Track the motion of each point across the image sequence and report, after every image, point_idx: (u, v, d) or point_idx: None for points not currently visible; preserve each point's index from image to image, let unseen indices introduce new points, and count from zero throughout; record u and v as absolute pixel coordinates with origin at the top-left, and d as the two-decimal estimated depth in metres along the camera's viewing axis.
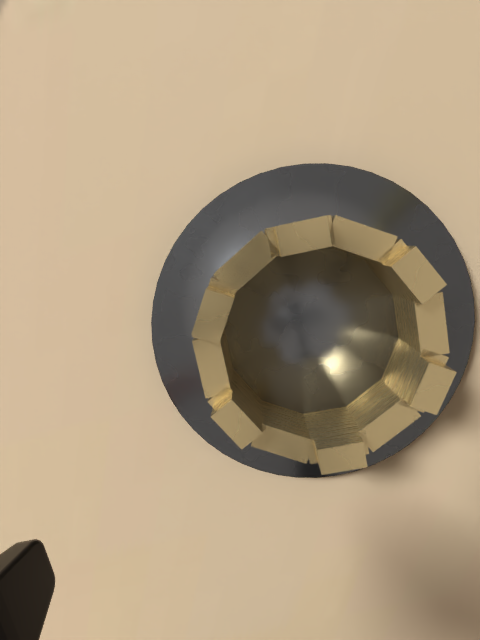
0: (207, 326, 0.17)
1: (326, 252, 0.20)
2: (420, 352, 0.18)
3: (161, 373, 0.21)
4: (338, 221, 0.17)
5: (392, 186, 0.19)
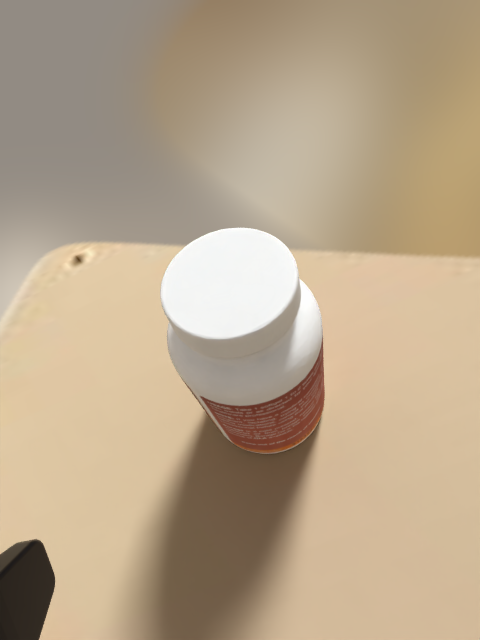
0: None
1: None
2: None
3: None
4: None
5: None
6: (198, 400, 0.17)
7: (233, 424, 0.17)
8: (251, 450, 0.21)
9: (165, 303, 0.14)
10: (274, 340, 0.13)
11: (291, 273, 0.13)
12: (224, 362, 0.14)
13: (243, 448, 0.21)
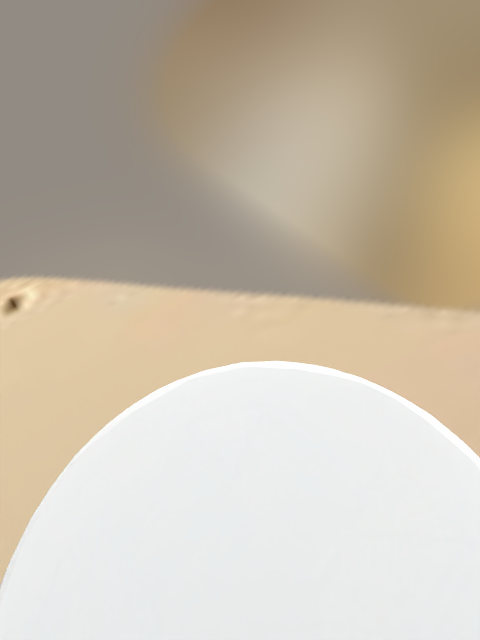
0: None
1: None
2: None
3: None
4: None
5: None
6: None
7: None
8: None
9: None
10: None
11: None
12: None
13: None
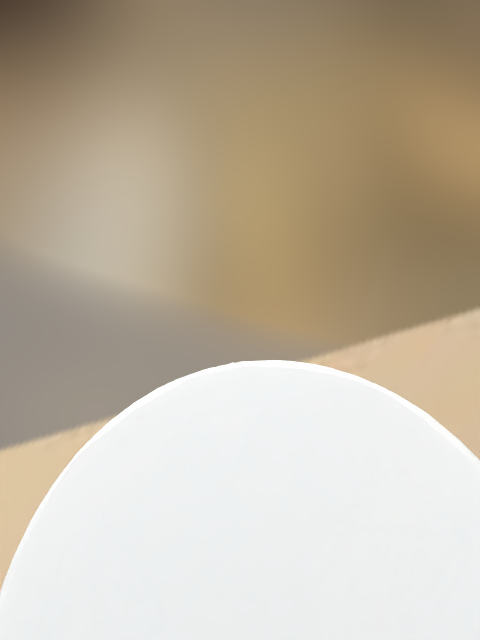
0: None
1: None
2: None
3: None
4: None
5: None
6: None
7: None
8: None
9: None
10: None
11: None
12: None
13: None
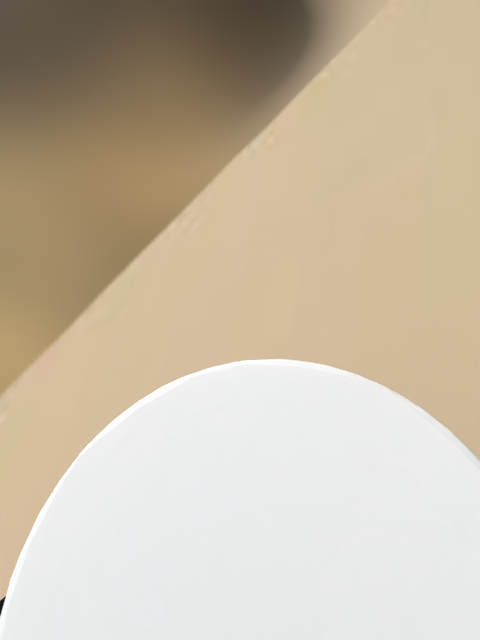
0: None
1: None
2: None
3: None
4: None
5: None
6: None
7: None
8: None
9: None
10: None
11: None
12: None
13: None
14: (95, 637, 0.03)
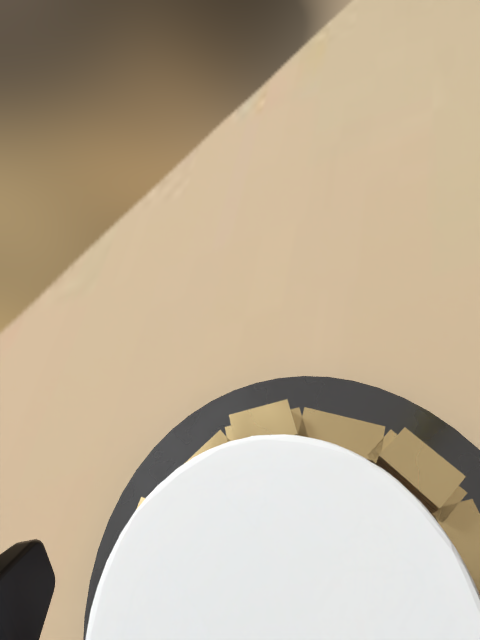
0: None
1: None
2: None
3: None
4: (309, 413, 0.14)
5: (380, 393, 0.17)
6: None
7: None
8: None
9: None
10: None
11: None
12: None
13: None
14: None
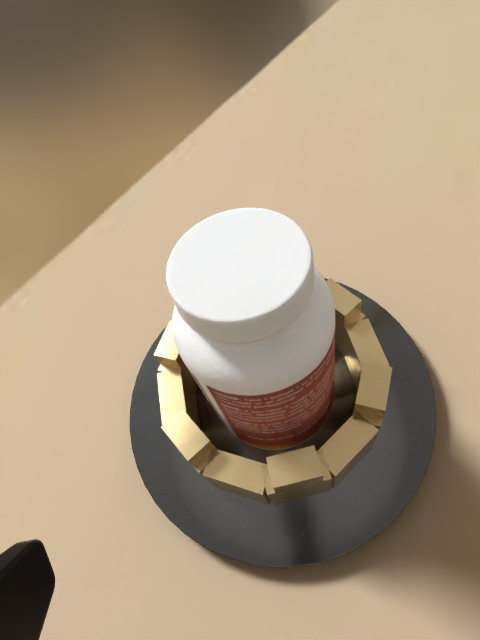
0: (167, 347, 0.20)
1: None
2: (362, 368, 0.19)
3: (132, 440, 0.22)
4: None
5: (327, 281, 0.26)
6: (204, 391, 0.17)
7: (240, 417, 0.17)
8: (258, 446, 0.20)
9: (171, 285, 0.13)
10: (287, 324, 0.13)
11: (305, 253, 0.13)
12: (233, 349, 0.14)
13: (249, 444, 0.20)
14: (194, 267, 0.13)
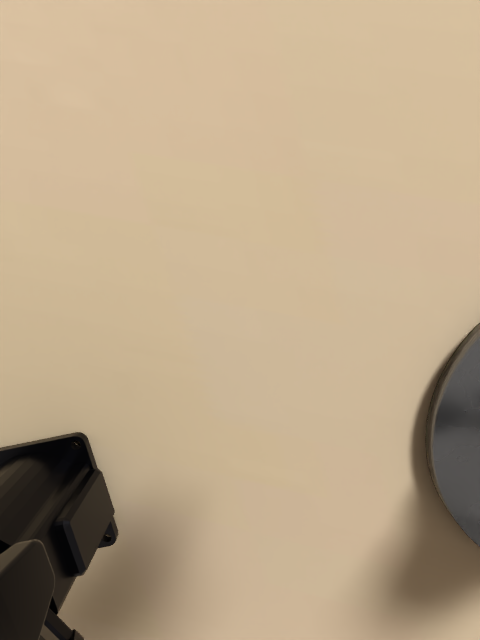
0: None
1: None
2: None
3: None
4: None
5: None
6: None
7: None
8: None
9: None
10: None
11: None
12: None
13: None
14: None
